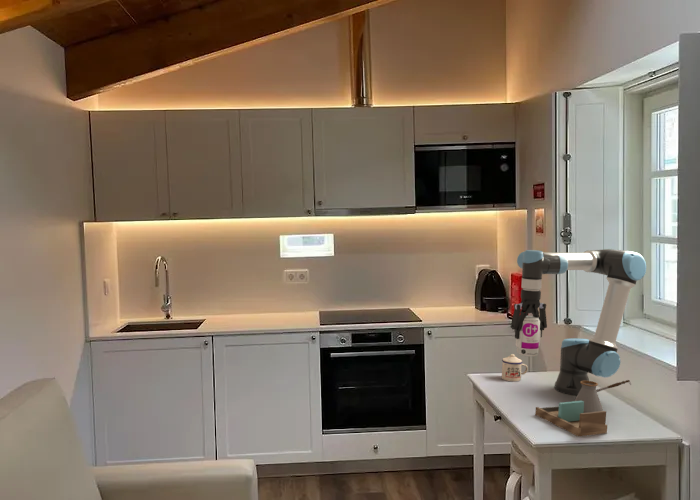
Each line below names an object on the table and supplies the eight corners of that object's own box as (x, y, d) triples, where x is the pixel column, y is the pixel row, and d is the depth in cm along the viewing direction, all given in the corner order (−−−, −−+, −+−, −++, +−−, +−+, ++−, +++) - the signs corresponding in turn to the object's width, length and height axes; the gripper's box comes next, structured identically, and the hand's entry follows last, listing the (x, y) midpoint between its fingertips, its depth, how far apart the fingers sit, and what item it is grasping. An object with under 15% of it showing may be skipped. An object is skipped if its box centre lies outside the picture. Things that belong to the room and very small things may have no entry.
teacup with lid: (503, 381, 296) (505, 356, 295) (498, 376, 305) (500, 351, 304) (529, 382, 297) (531, 357, 296) (524, 376, 306) (525, 352, 305)
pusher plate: (557, 421, 241) (559, 402, 240) (580, 418, 245) (581, 400, 244) (560, 422, 239) (561, 404, 239) (582, 420, 243) (584, 401, 243)
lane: (535, 414, 251) (536, 394, 250) (562, 411, 256) (563, 392, 255) (578, 436, 229) (579, 414, 228) (606, 433, 234) (608, 411, 233)
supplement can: (538, 357, 252) (541, 319, 251) (517, 355, 254) (519, 318, 252) (537, 352, 260) (539, 316, 259) (516, 351, 262) (518, 314, 260)
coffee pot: (575, 418, 248) (577, 380, 247) (568, 409, 260) (571, 372, 258) (633, 422, 246) (635, 384, 245) (623, 413, 257) (626, 376, 256)
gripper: (546, 287, 262) (543, 342, 264) (503, 288, 254) (499, 345, 256) (559, 290, 255) (555, 347, 257) (514, 291, 247) (511, 349, 249)
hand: (527, 346), depth 257 cm, fingers closed on supplement can, 8 cm apart
